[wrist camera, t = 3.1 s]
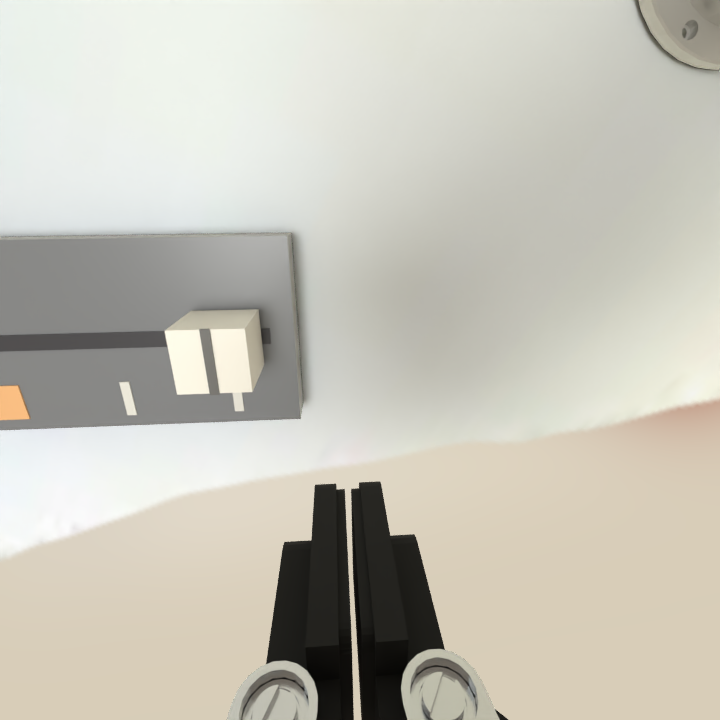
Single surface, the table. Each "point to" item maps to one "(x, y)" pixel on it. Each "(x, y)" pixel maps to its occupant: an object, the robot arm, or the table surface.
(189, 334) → the fader knob
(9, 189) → the table surface
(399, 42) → the table surface
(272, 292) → the fader console
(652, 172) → the table surface
